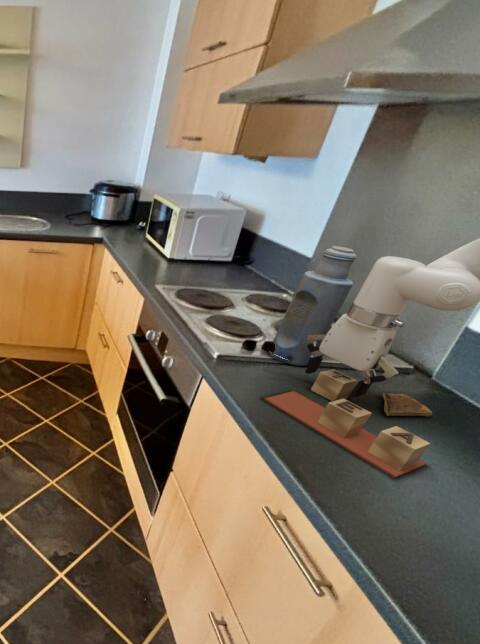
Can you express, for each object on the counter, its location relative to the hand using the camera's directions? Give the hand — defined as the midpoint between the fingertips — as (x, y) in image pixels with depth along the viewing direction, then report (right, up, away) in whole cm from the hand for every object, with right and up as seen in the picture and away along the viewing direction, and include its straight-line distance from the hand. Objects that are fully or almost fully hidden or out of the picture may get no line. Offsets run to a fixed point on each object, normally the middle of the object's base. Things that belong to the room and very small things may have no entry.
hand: (331, 383), depth 95 cm
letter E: (-9, -8, -11) cm, 16 cm away
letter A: (-5, -12, -18) cm, 22 cm away
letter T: (0, -3, +1) cm, 3 cm away
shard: (+13, -6, -3) cm, 15 cm away
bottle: (+3, +5, +17) cm, 18 cm away
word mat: (-9, -8, -11) cm, 16 cm away
